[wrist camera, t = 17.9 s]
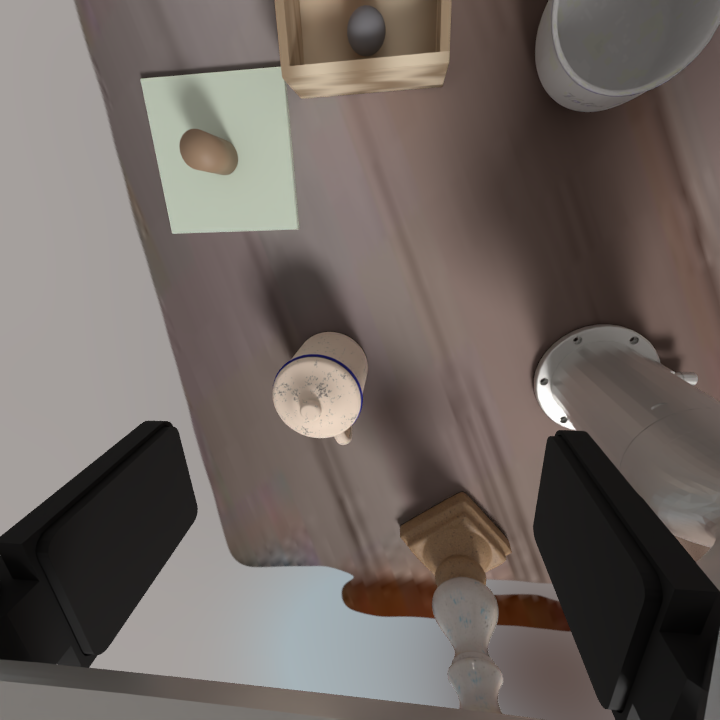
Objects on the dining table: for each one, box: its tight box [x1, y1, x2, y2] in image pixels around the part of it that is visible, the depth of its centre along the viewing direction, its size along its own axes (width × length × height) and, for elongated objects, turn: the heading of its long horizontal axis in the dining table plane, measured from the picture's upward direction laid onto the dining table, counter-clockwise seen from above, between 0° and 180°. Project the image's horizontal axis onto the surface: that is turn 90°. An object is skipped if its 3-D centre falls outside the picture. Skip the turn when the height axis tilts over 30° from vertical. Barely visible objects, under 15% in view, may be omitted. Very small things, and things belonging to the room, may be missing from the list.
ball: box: [347, 5, 386, 56], centre depth 31 cm, size 3×3×3 cm
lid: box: [141, 67, 299, 234], centre depth 36 cm, size 14×14×6 cm
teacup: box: [535, 0, 720, 112], centre depth 28 cm, size 14×11×8 cm
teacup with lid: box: [273, 332, 368, 445], centre depth 40 cm, size 12×9×12 cm
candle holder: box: [400, 492, 512, 714], centre depth 41 cm, size 11×11×24 cm
